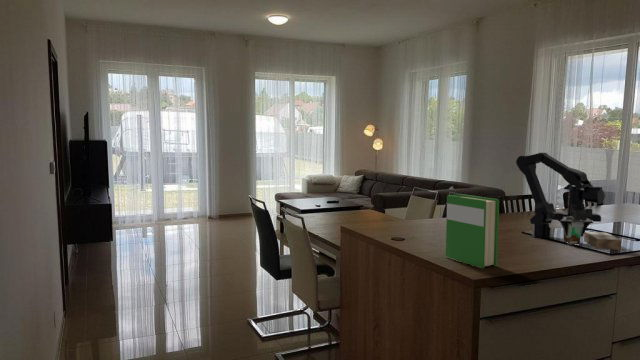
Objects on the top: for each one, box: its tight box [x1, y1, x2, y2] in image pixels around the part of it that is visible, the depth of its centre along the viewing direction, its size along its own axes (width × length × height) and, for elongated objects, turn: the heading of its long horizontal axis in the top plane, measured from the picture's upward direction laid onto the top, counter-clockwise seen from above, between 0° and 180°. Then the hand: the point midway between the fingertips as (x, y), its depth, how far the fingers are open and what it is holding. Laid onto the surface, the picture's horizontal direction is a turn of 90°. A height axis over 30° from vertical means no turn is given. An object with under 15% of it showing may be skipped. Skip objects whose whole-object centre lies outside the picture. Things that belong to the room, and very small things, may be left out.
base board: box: [583, 231, 622, 251], centre depth 192 cm, size 9×15×4 cm, turn 167°
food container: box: [562, 218, 584, 246], centre depth 196 cm, size 12×6×10 cm, turn 168°
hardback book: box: [445, 193, 500, 269], centre depth 165 cm, size 18×7×24 cm, turn 28°
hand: (573, 236), depth 196 cm, fingers closed on food container, 6 cm apart
